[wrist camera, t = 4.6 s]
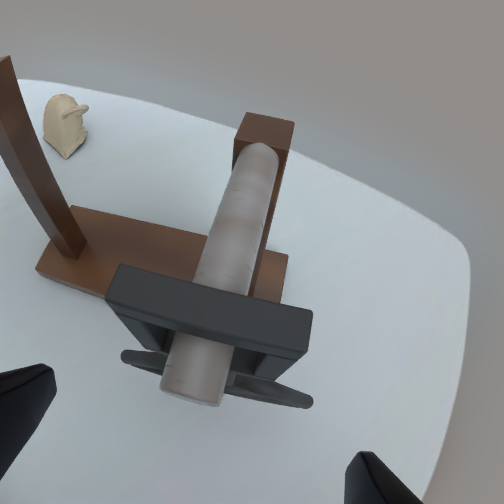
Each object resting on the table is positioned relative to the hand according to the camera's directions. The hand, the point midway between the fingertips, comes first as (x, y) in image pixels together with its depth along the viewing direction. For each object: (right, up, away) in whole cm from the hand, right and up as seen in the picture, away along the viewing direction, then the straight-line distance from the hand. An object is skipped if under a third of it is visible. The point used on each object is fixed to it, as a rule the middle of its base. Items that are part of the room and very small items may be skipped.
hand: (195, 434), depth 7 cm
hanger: (0, -1, +7) cm, 7 cm away
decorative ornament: (-18, +16, +20) cm, 31 cm away
